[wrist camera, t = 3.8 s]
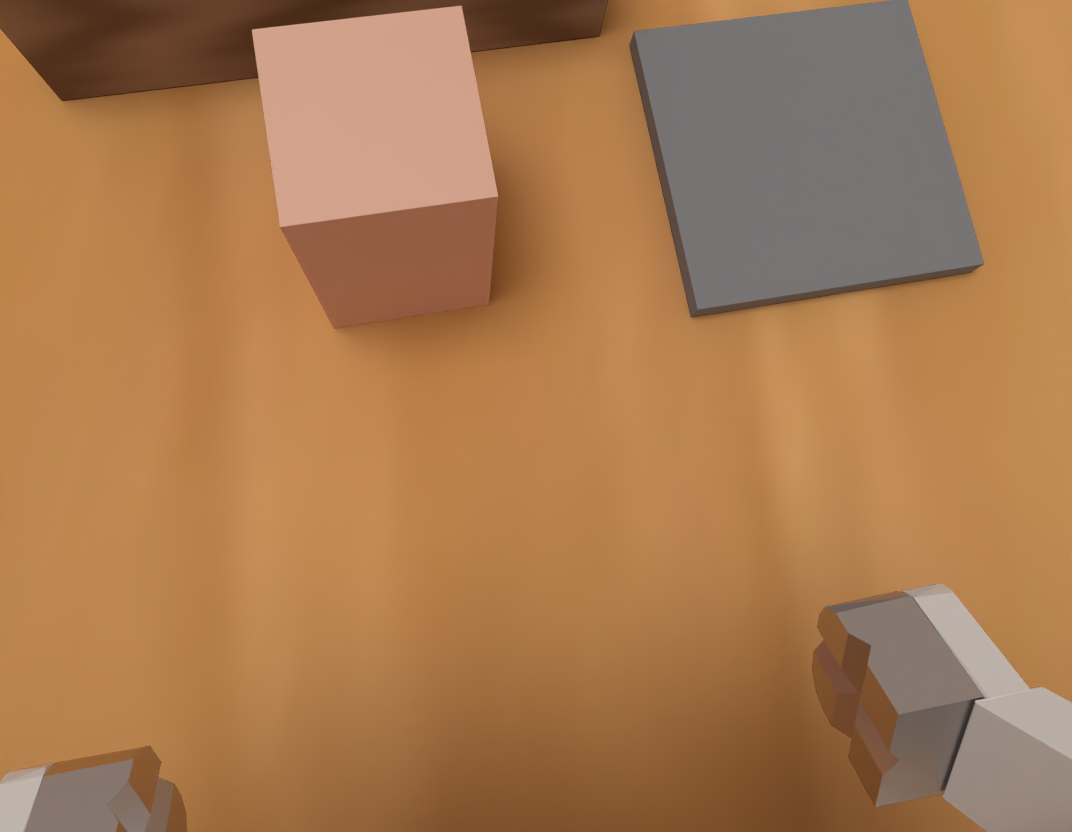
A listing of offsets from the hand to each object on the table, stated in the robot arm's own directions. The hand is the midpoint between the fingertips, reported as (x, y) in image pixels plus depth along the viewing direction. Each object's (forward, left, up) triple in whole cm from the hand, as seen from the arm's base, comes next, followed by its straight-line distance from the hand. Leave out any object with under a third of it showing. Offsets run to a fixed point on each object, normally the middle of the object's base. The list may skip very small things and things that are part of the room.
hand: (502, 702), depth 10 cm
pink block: (0, +12, -16) cm, 20 cm away
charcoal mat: (+14, +13, -16) cm, 25 cm away
